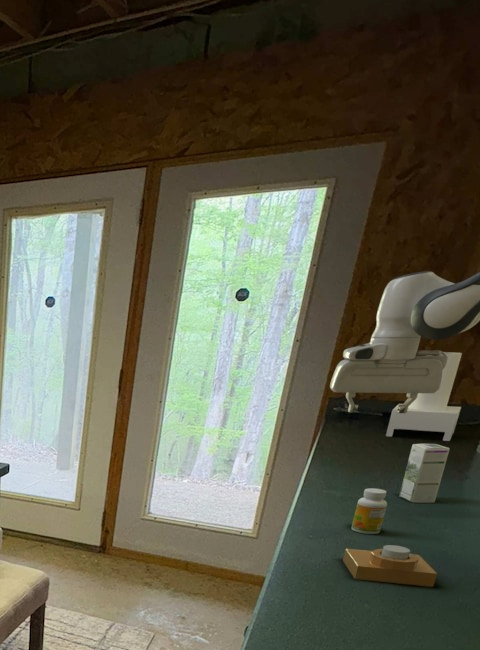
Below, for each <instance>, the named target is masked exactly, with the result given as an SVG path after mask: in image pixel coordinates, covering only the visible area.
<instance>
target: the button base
mask: <svg viewBox="0 0 480 650" xmlns="http://www.w3.org/2000/svg"><path fill="white" fill-rule="evenodd" d="M382 549H383V548H377V549H373V550H366V549H354V548H345V550H344V554H343V558H342V562H343V564H344V565H345V567H346V568H347V569H348V571H349V572H350V574H351V575H352V577H353V579H355V580H361V581H362V580H363V581H372V582H382V583H391V584H401V585H409V586H410V585H411V586H420V587H428V588H429V587H431V588H433V587H434V586H435V583H436V579H437V576H438V572H436V570H434V569H433V568H432V567H431V565H429V564H428V562H427V561H426V560H424V558H423V557H422V556H421V555H420V554H413V553H411V552H410V553H409V557H408V559H406V560H399V559H392V558H387V557H384V556H382V555H381V553H382Z"/></svg>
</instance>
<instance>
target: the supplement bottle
mask: <svg viewBox="0 0 480 650" xmlns="http://www.w3.org/2000/svg"><path fill="white" fill-rule="evenodd" d="M386 496H387V490H385V489H381V488H373V487H371V488H369V487H368V488H365V489H364V491H363V497H361V498H359V499H358V500H357V504H356V508H355V511H354V516H353V519H352V523H351V527H350V528H351V531H353V532H356V533H359V534H363V535H375V534H377V535H378V534H379V533H380V532H381V529H382V526H383V522H384V518H385V515H386V511H387V507H388V502H387V501H386V500H385V498H386Z"/></svg>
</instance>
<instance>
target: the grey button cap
mask: <svg viewBox="0 0 480 650" xmlns="http://www.w3.org/2000/svg"><path fill="white" fill-rule="evenodd" d="M381 549H382V553H381V555H382V556H384V557H387V558H392V559H399V560H406V559H408V557H409V553H410V554H411V550H410V549H409V548H407V547H405V546H400V545H393V544H386V545H383V546H382V548H381Z"/></svg>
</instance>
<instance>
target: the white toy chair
mask: <svg viewBox="0 0 480 650" xmlns="http://www.w3.org/2000/svg"><path fill="white" fill-rule="evenodd" d="M442 352H443V353H445V354H446V355H447V357H448V359H447V363H446V366H445V368H444V369H443V370H442V379H441V385H440V388H439V390H438V391H436V392H435V393H418V395H417V399H416V400H414V401H413V402H412V403H411V404H410V405H409V406H408V409H407V412H406V413H397V409H398V405H403V404H404V403H398V404H397V405H396V406H395V407H394V408H393V409H392V410H391V414H390V417H389V422H388V426H387V430H386V433H385V437H388V438H389V437H393V435H394V432H395V431H394V430H411V431H423V432H438V433H444V435H443V437H442V441H444V442H450V441H451V439H452V436H453V434H454V433H455V430H456V426H457V422H458V419H459V416H460V412H461V410H462V406H452V405H451V406H450V405H448V403H449V399H450V397H451V394H452V393H451V392H452V389H453V386H454V382H455V379H456V376H457V373H458V369H459V365H460V362H461V358H462V354H463V353H462V352H454V351H453V352H452V351H451V352H449V351H442ZM427 356H432V355H427ZM438 356H444V355H442V354H441V355H438Z"/></svg>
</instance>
